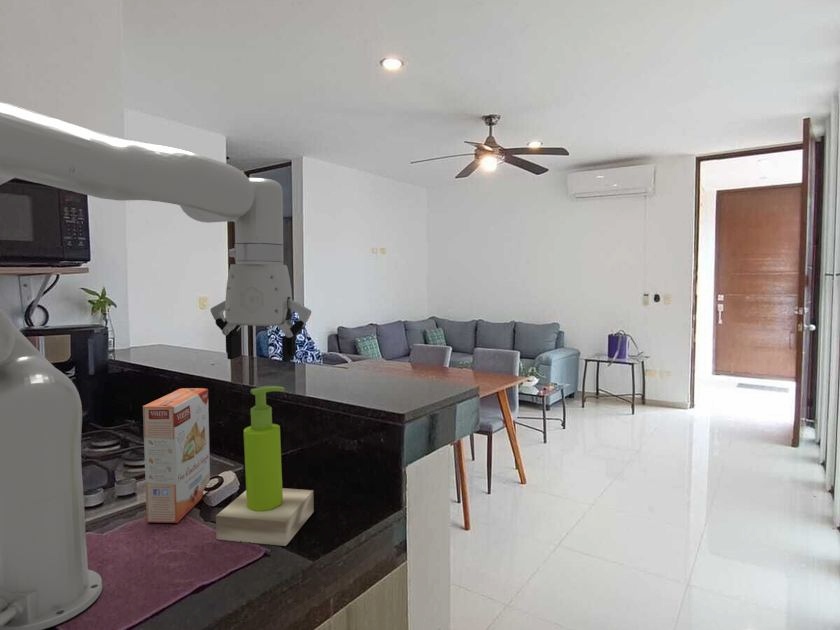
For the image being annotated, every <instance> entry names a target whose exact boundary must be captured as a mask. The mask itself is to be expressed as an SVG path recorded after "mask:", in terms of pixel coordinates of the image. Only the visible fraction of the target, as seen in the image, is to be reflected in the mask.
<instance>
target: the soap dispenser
mask: <svg viewBox="0 0 840 630" xmlns="http://www.w3.org/2000/svg"><path fill="white" fill-rule="evenodd" d="M284 391H286V388H285V387H284V386H280V385H279V386H278V385H265V386H259V387H255V388H250V394H252V395H254V397H255V405H253V406H252V407H251V408H250V426H247V427H245V428H244V429H243V446H244V447H243V449H244V466H245V467H244V470H245V471H244V472H245V473H244V474H245V491H246V496H247V507H248V509H250V510H253V511H267V510H271V509H274V508H276V507H278V506H280V505H281V504H282V502H283V492H282V488H283V474H282V473H283V472H282V471H283V470H282V469H283V468H282V447H281V445H282V444H281V443H282V441H281V426H280V425H279V424H276V423H273V415H272V414H273V411H272V410H273V408H272V406H270V405H268V404H267V393H271V392H284Z"/></svg>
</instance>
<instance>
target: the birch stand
mask: <svg viewBox="0 0 840 630" xmlns="http://www.w3.org/2000/svg"><path fill="white" fill-rule="evenodd" d="M282 492H283V502H282V504H281V505H280V506H278V507H276V508H274V509H271V510H267V511H253V510H250V509H248V507H247V496H246V490H244V491H243V492H242V493H241V494H240V495H239V496H238V497H236V498H235V499H234V500H232V501H231V502H230V503H229V504H228V505H227V506H225V507H224V508H222V510H221V511H220V512H218V513H217V514H216V515H215V531H216V533H215V534H216V540H220V541H230V542H240V541H241V542H242V543H249V542H250V543H249V544H251V543H252V544H261V545H262V544H263V545H272V546H280V547H281V546H284V547H286V546H287V545H288V544H289V543H290V542H291V541H292V539H293V538H294V537H295V535H296V534H297V533H298V532H299V531H300V529H301V528H302V527H303V525H304V524H305V523H306V522H307V520H308V519H309V518H310V517H311V516H312V514H314V512H315V509H314V504H315V503H314V490H313V489H311V490H310V489H302V488H301V489H298V488H286V487H285V488H284V487H282Z"/></svg>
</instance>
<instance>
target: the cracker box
mask: <svg viewBox="0 0 840 630" xmlns="http://www.w3.org/2000/svg"><path fill="white" fill-rule="evenodd" d="M142 419H143V447H144V448H143V450H144V453H143V454H144V475H145V476H144V477H145V479H144V481H145V506H146V522H147V523H152V524H153V523H158V524H160V523H163V524H164V523H165V524H169V523H170V524H178V523H179V522H180V521H181V520H182V519H183V518H184V517H185V516H186V515H187V514H188V513H189V512H190V511H191V510H192V509H193V508H194V507H195V506H196V505H197V504H199V502H200V501H201V500H202V499H203V498H202V494H203V491H204V489H205V487H206V486H207V484H208V483H209V482H210V483H211V472H210V471H211V468H210V467H211V466H210V465H211V464H210V463H211V462H210V461H211V460H210V459H211V457H210V425H209V424H210V421H209V420H210V418H209V389H208V388H205V387H204V388H203V387H200V388H199V387H195V388H193V387H191V388H190V387H188V388H187V387H185V388H183V387H182V388H178V389H176V390H174V391H172V392H171V393H168V394H166V395H164V396H162V397H160V398H158V399H155V400H153V401H151V402H149V403H147V404H145V405H142Z"/></svg>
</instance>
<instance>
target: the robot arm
mask: <svg viewBox="0 0 840 630" xmlns="http://www.w3.org/2000/svg"><path fill="white" fill-rule="evenodd" d="M13 179H19V180H24V181H27V182H32V183H36V184H41V185H46V186H50V187H54V188H57V189H62V190H66V191H70V192H71V191H72V192H73V193H78V194H82V195H86V196H89V197H93V198H98V199H101V200H102V199H105V200H111V201H112V200H113V201H125V202H126V201H150V202H160V203H165V204H171V205H177V206H180V208H181V210H182V212H183V213H184V214H185V215H186V216H188V217H189V218H191V219H192V220H195V221H197V222H201V223H210V224H211V223H225V222H228V223H229V222H234V235H235V237H234V241H235V242H234V243H235V244H234V245H233V246H234V248H230V249H228V256H229V258H234V262H235V264H232V263H231V264H230V265H229V271H228V276H227V280H226V288H225V289H226V290H225V300H223V301H222V302H220V303H218V304H216V305H214V306H212V307H211V308H210V313H211V315H212V317H213V319H214V320H215V324H216V326H217V327H218V328H219V329H220V330H221V332H222V335H223V336H225V353H226V354H227V355H226V356H227V357H226V358H227V360H233V359H237V358H240V357H241V355H242V354H241V353H242V349H241V347H242V346H241V334H240V333H238V331H239V330H240V329H241V328H242V326H253V327H254V326H255V327H260V326H261V327H263V326H264V327H276V326H277V327H278V328H279V329H280V331H282V333H283V334H284V337H282V339H281V349H282V350H281V355H282V356H281V357H282V358H281V359H282V360H281V361H282V362H284V363H288V362H291V361H293V360H294V358H295V356H296V355H297V336H298V335H299V333H300V332H301V331H302V330H303V329H304V328H305V327H306V326H307V322H308V321H309V319H310V316H311V315H312V310H311V309H309V308H307V307H306V306H304V305H302V304H300V303H299V302H297V301H295V300H294V299H293V292H292V284H291V278H290V274H289V273H290V272H289V269H288V266H287V264H284V203H283V200H284V198H283V197H284V196H283V188H282V185H281V183H279V182H278V181H276V180H274V179H270V178H263V177H248V176H247V175H246V174H245V173H244V172H243V171H242V170H240V169H239V168H237V167H235V166H233V165H231V164H229V163H226V162H223V161H220V160H217V159H214V158H211V157H207V156H205V155H202V154H198V153H195V152H192V151H188V150H185V149H184V150H183V149H180V148H176V147H171V146H165V145H161V144H154V143H149V142H146V141H141V140H136V139H132V138H130V139H129V138H125V137H119V136H115V135H112V134H109V133H106V132H105V133H104V132H102V131H98V130H95V129H92V128H89V127H86V126H83V125H80V124H76V123H73V122H70V121H66V120H63V119H61V118H59V117H58V118H57V117H54V116H51V115H48V114H44V113H41V112H39V111H35V110H32V109H29V108H26V107H22V106H20V105H16V104H14V103H9V102H6V101H2V100H0V186H2V185H3V184H4V183H5V184H6V183H7V182H9V181H11V180H13ZM294 312H295V313H296V314H297V315H298V319H297V321H295V322H294V323H293V322H292V320H293V317H294V316H293V315H294V314H293V313H294ZM82 407H83V405H82V400H81V397H80V394H79V391H78V389H77V386H76V385H75V383H74V382H73V381H72V380H71V378H70V377H68V376H67V375H66V374H65V373H63V372H62V371H61V370H59V369H58V368H56V367H55V366H54V365H53V364H52V363H51V362H50V361H49V360H48V359H47V358H46V357H45V356H44V355H43V354H42V353H41V352H40V351H39V349H37V348H36V347H35V346H34V345H33V344H32V342H31V341H30V340H29V339H28V338H27V337H26V336H25V335H24V334H23V333H22V332H21V331H20V330H19V329H18V328H17V326H15V325H14V323H12V321H11V320H10V318H9V316H8V315H7V314H6V312H5V311H4V310H3V309H2V308H0V630H46V629H49V628H51V627H55V626H56V625H59V624H61V623H64V622H66V621H69V620H70V619H72V618H74V617H76V616H78V615H79V614H81V613H82V612H84V611H85V610H87V609H88V608H89V607H91V605H92V604H94V602H96V600H97V599H98V598H99V596H100V595H101V593H102V590H103V579H102V577H101V576H102V575H100V574H99V573H98V572H96V571H95V570H92V569H89V567H88V566H89V565H88V551H87V536H86V516H85V502H84V486H83V485H84V483H83V471H82V443H81V442H82V428H83V427H82V425H83V408H82Z"/></svg>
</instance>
